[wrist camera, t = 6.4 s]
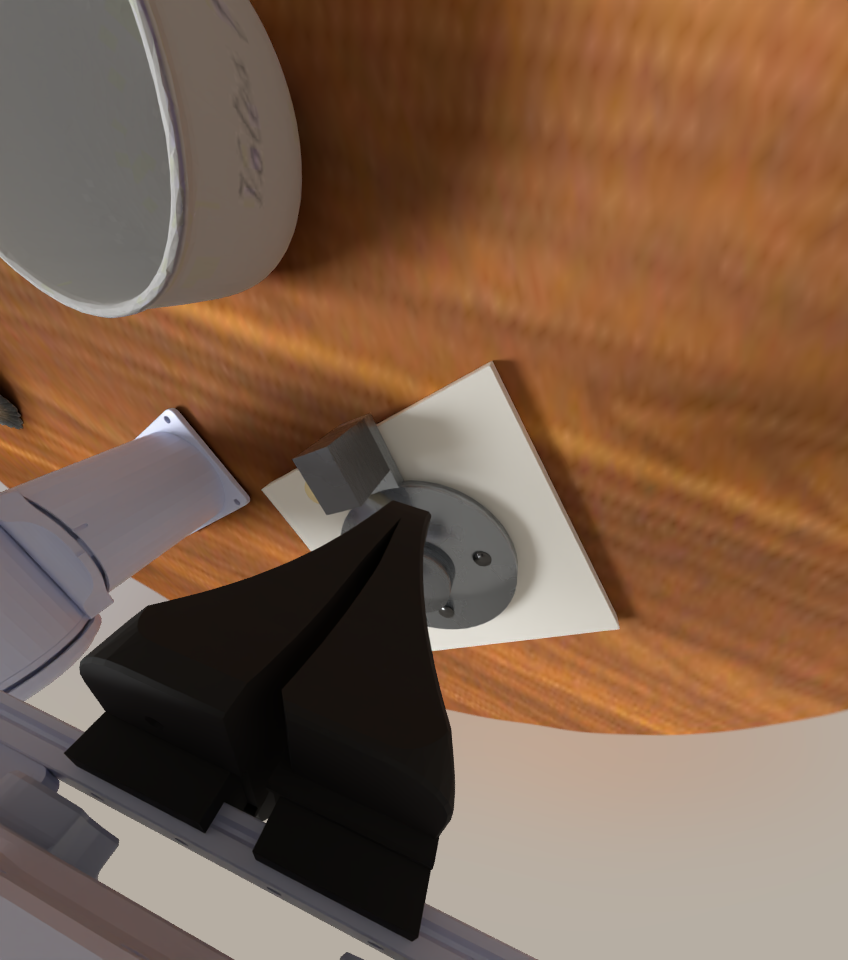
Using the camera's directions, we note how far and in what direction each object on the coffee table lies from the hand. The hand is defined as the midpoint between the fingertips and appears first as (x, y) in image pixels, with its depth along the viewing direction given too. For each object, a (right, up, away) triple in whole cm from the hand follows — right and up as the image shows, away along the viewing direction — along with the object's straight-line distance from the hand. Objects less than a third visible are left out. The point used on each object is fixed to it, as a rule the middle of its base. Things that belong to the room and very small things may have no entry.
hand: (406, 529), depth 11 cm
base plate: (+1, -3, +11) cm, 11 cm away
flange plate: (0, -1, +9) cm, 9 cm away
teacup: (-9, +17, +4) cm, 19 cm away
